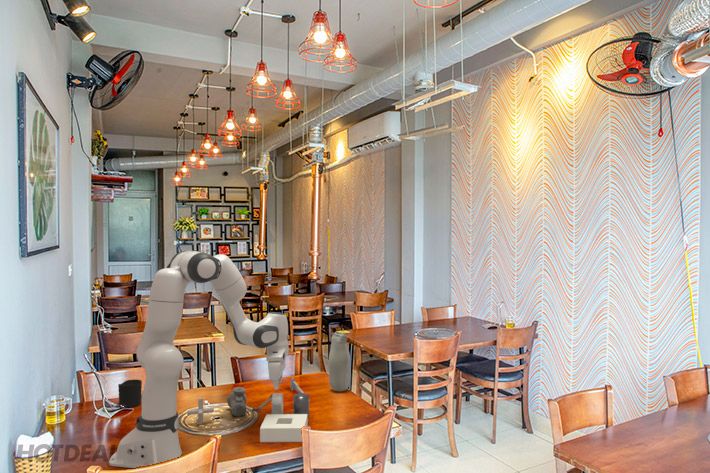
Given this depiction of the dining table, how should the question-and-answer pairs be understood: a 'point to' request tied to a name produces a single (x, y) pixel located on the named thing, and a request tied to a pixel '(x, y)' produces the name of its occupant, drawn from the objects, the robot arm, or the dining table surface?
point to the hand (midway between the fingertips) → (278, 385)
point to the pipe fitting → (237, 401)
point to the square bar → (277, 403)
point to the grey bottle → (339, 363)
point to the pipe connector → (200, 411)
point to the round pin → (301, 404)
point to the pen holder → (130, 393)
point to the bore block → (283, 427)
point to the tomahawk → (263, 404)
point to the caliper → (295, 386)
